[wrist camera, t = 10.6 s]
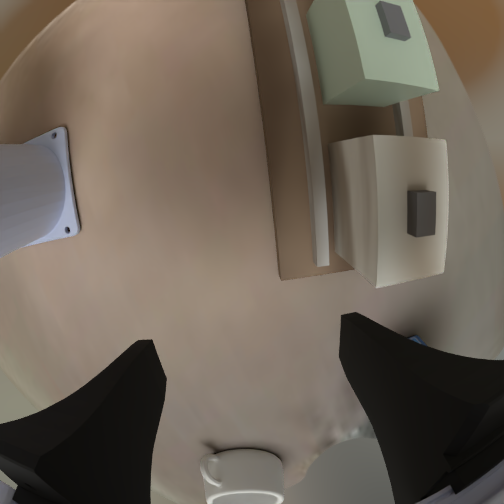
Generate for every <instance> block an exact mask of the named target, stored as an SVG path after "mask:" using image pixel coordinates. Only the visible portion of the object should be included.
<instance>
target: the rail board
mask: <svg viewBox="0 0 504 504" xmlns="http://www.w3.org/2000/svg"><path fill="white" fill-rule="evenodd" d="M313 1H314V0H245V3H246V9H247V15H248V21H249V28H250V34H251V41H252V48H253V54H254V61H255V68H256V76H257V83H258V90H259V98H260V105H261V113H262V121H263V129H264V137H265V145H266V154H267V162H268V171H269V180H270V189H271V199H272V208H273V218H274V228H275V238H276V248H277V259H278V270H279V276H280V279H281V281H283V280H290V279H297V278H304V277H310V276H317V275H323V274H329V273H336V272H342V271H348V270H354V269H355V270H356V271H358V272H359V273H360V274H361V275H362V276H363V277H364V278H365V279H366V280H368V281H369V282H370V283H371V284H372V285H373V286H374V287H375V288H380V287H385V286H389V285H394V284H399V283H403V282H408V281H412V280H416V279H421V278H425V277H429V276H433V275H437V274H441V273H444V266H445V257H446V246H447V233H448V211H449V180H448V158H447V145H446V140H442V139H433V138H428V137H427V128H426V120H425V113H424V107H423V101H422V96H419V97H415V98H412V99H409V100H405V101H402V102H399V103H395V104H392V105H389V106H386V107H377V106H361V105H330V104H323V101H322V94H321V88H320V82H319V76H318V70H317V65H316V60H315V54H314V49H313V45H312V40H311V35H310V31H309V26H308V22H307V18H306V14H307V12H308V10H309V8H310V6H311V5H312V3H313Z"/></svg>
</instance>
